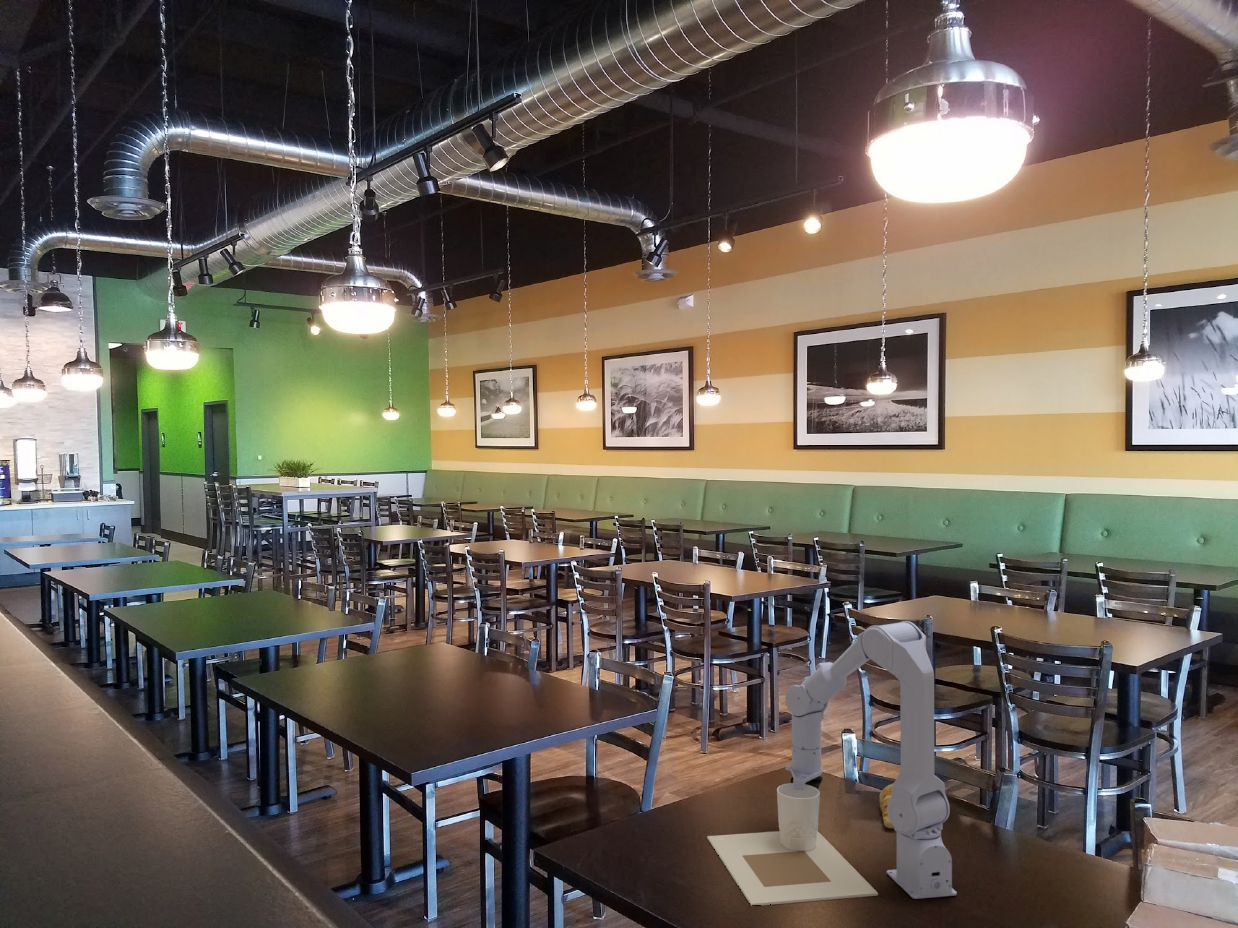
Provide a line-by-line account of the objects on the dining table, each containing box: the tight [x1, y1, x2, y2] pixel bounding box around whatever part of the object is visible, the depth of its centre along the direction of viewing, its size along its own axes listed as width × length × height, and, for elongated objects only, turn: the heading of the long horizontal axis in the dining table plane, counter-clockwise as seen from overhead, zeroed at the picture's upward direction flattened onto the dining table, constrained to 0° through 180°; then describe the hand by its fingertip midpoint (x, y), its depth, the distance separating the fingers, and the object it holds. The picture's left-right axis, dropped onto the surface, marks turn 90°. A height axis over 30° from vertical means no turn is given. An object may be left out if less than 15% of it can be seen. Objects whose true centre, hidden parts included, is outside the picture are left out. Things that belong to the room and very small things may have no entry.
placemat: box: [706, 830, 879, 907], centre depth 152 cm, size 26×22×1 cm
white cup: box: [776, 782, 821, 851], centre depth 160 cm, size 8×8×10 cm
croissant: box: [878, 782, 894, 829], centre depth 175 cm, size 21×10×8 cm, turn 145°
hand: (806, 814), depth 167 cm, fingers closed
